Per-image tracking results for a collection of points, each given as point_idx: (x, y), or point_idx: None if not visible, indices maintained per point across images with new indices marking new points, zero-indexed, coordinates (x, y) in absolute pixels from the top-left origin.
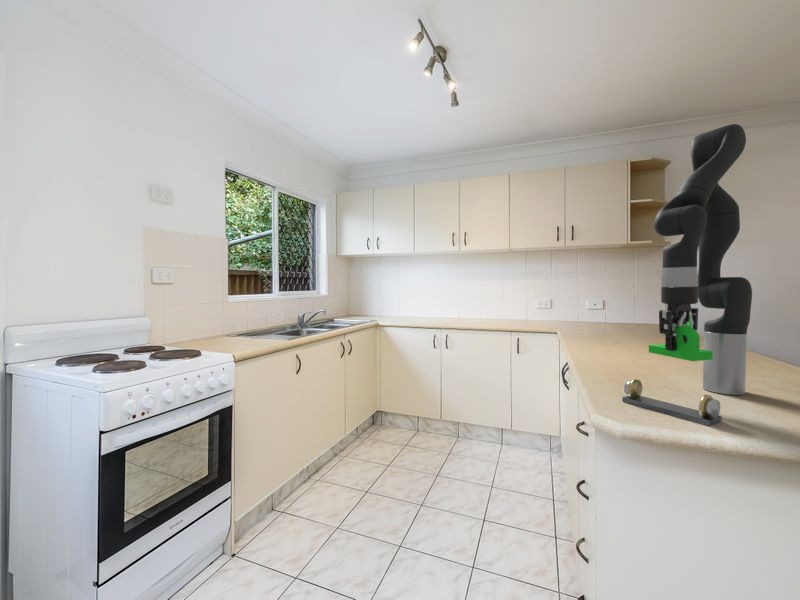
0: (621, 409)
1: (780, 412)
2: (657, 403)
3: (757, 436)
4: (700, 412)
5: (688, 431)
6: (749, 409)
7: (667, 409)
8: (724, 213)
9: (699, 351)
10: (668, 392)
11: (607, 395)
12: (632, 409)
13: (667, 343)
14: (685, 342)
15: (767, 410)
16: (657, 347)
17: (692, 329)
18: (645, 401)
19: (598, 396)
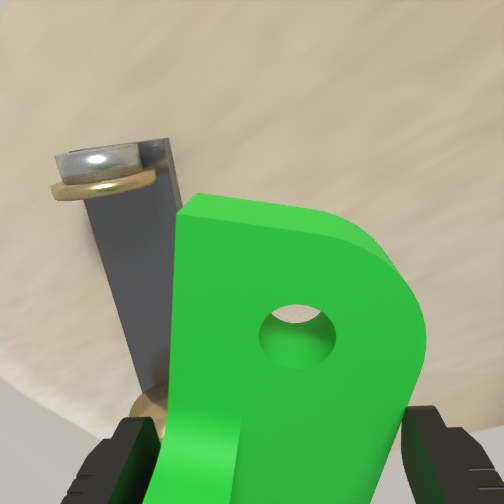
0: (7, 218)
1: (485, 408)
2: (141, 262)
3: None
4: (139, 398)
5: (63, 393)
6: (437, 366)
7: (118, 313)
8: None
9: None
10: (423, 121)
11: (82, 47)
12: (48, 232)
13: (77, 495)
14: (418, 479)
15: (476, 388)
16: (174, 314)
17: None
18: (117, 230)
19: (25, 44)
